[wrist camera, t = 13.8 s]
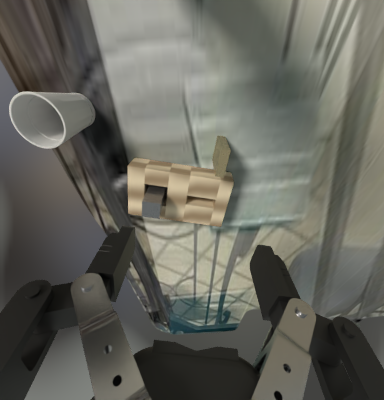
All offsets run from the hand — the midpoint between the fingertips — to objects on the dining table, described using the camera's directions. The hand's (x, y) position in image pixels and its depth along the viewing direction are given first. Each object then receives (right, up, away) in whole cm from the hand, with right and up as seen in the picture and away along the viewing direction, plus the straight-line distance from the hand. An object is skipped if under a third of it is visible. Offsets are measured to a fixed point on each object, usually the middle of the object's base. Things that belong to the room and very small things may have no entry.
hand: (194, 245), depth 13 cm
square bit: (-8, +6, +35) cm, 37 cm away
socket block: (-3, +6, +35) cm, 36 cm away
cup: (-23, +21, +27) cm, 41 cm away
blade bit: (+6, +14, +30) cm, 34 cm away
